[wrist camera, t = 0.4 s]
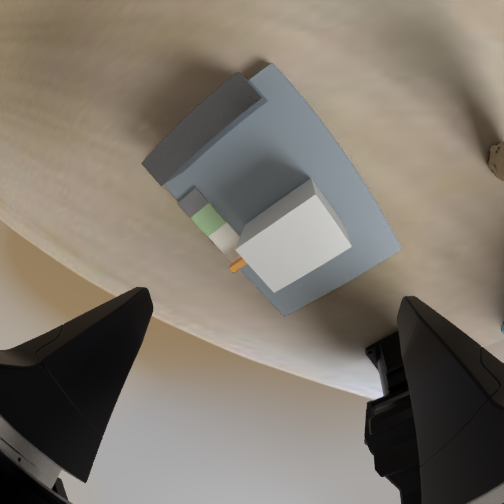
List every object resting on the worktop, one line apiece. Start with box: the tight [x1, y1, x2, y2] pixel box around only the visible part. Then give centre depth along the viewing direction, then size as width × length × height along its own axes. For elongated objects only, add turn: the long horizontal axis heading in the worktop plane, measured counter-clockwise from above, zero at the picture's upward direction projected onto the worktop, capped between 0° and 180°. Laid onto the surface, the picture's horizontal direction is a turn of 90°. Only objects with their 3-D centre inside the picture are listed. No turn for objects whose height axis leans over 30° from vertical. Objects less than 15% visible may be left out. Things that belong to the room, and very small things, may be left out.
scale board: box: [164, 63, 402, 316], centre depth 20 cm, size 17×12×2 cm
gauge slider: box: [229, 178, 352, 293], centre depth 19 cm, size 4×9×4 cm, turn 130°
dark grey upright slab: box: [141, 72, 268, 186], centre depth 16 cm, size 2×8×4 cm, turn 130°
